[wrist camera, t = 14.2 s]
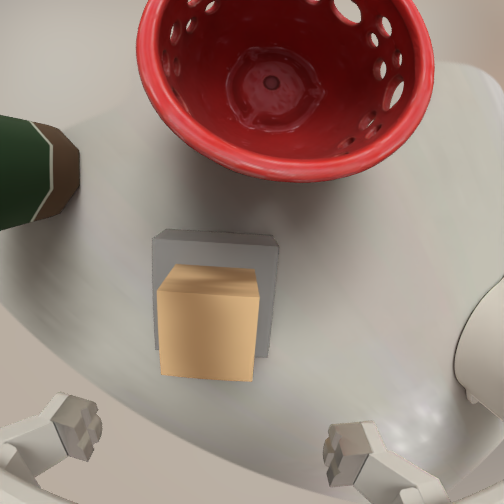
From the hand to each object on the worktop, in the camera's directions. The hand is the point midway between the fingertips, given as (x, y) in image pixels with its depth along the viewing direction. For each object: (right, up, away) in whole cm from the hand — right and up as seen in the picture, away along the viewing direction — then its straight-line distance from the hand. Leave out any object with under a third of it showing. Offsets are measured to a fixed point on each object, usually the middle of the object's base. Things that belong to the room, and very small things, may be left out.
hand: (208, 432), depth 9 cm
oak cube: (-1, +3, +11) cm, 12 cm away
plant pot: (+3, +18, +12) cm, 22 cm away
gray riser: (-1, +4, +15) cm, 16 cm away
